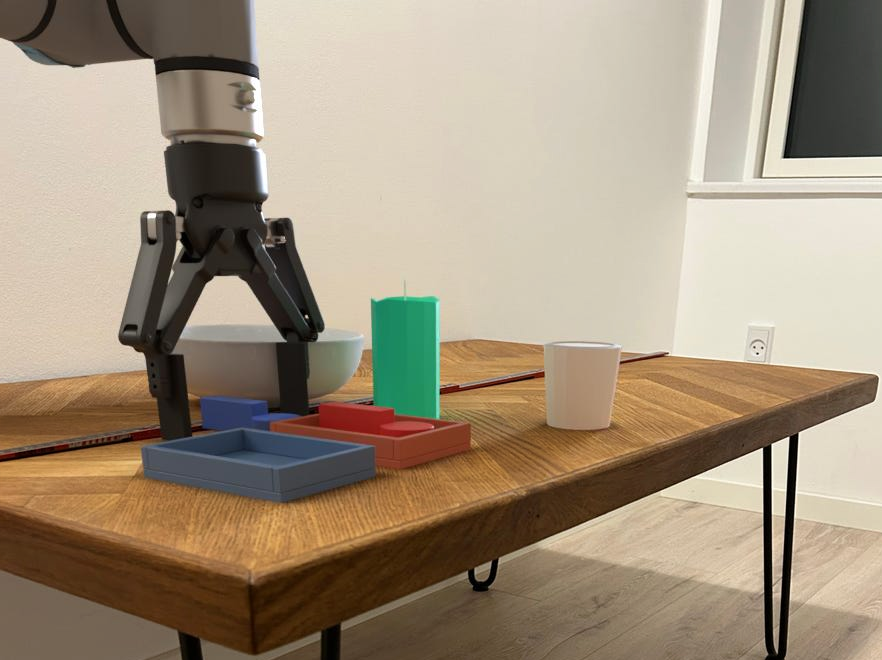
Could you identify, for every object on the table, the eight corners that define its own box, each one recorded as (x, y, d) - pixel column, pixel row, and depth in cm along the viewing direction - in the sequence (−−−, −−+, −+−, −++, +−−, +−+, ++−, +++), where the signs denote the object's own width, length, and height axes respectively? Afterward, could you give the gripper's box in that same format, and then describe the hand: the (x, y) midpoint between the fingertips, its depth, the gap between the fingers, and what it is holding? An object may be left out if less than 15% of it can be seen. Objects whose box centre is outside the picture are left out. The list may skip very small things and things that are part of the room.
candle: (416, 412, 90) (415, 278, 86) (452, 421, 86) (453, 280, 81) (361, 417, 87) (357, 278, 82) (396, 427, 82) (393, 280, 78)
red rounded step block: (310, 439, 73) (308, 405, 72) (343, 432, 76) (342, 399, 75) (413, 454, 68) (413, 417, 67) (444, 446, 71) (444, 411, 70)
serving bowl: (266, 426, 82) (260, 343, 79) (106, 404, 92) (97, 330, 89) (406, 400, 98) (405, 330, 96) (258, 384, 108) (254, 321, 106)
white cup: (599, 434, 81) (604, 348, 78) (527, 426, 84) (530, 344, 81) (627, 423, 86) (633, 343, 84) (559, 416, 89) (563, 339, 87)
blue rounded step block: (192, 430, 79) (189, 398, 78) (227, 424, 83) (225, 393, 82) (279, 443, 75) (277, 409, 74) (312, 435, 78) (311, 403, 77)
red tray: (271, 450, 72) (269, 422, 71) (348, 433, 79) (347, 408, 78) (400, 469, 66) (400, 439, 65) (470, 449, 73) (471, 422, 72)
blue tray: (143, 477, 62) (140, 445, 62) (244, 455, 70) (242, 427, 69) (281, 503, 56) (279, 468, 56) (376, 476, 64) (375, 445, 63)
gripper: (108, 120, 60) (151, 456, 68) (357, 157, 79) (367, 414, 87) (35, 129, 63) (84, 446, 71) (290, 162, 83) (306, 408, 91)
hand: (240, 429), depth 79 cm, fingers open, 13 cm apart
